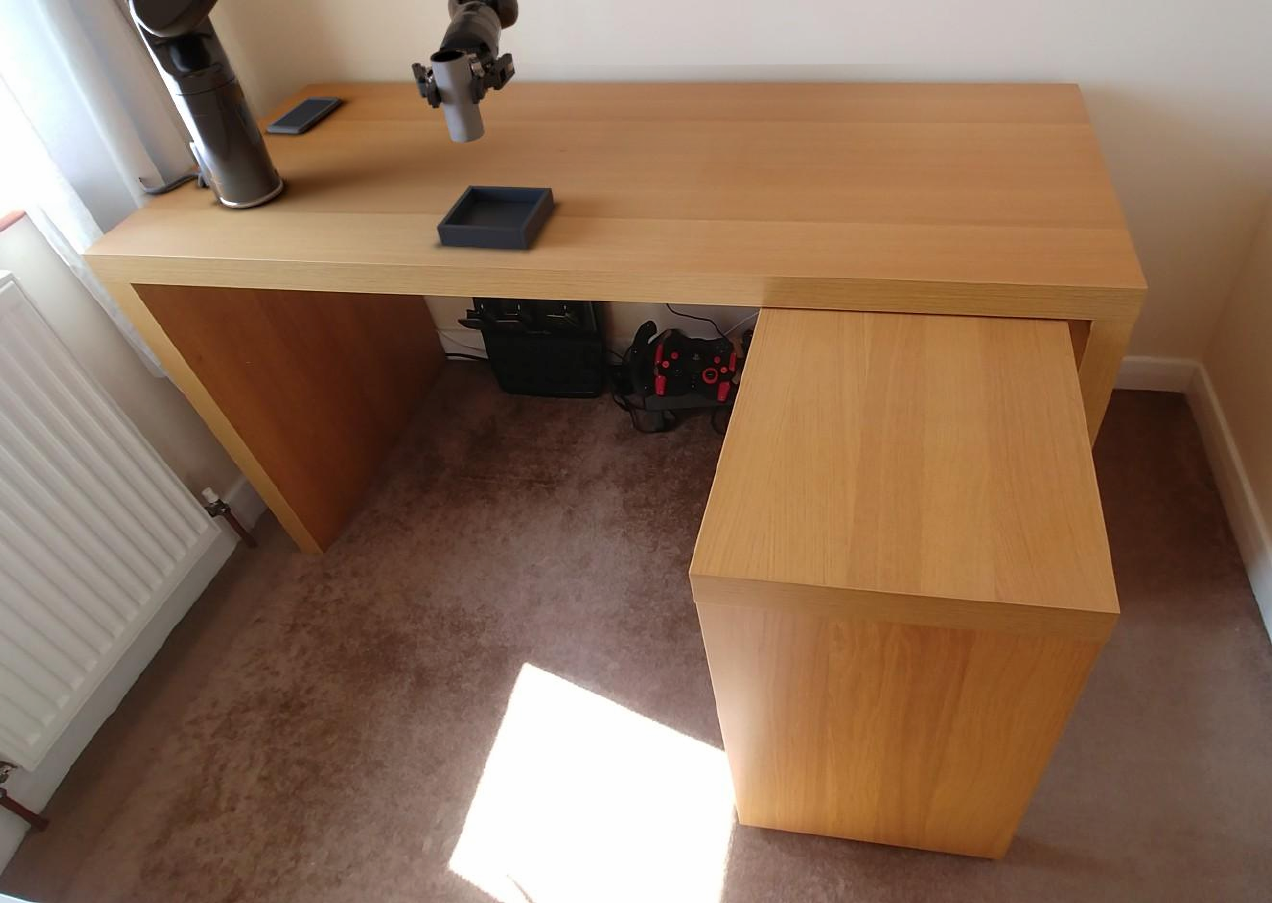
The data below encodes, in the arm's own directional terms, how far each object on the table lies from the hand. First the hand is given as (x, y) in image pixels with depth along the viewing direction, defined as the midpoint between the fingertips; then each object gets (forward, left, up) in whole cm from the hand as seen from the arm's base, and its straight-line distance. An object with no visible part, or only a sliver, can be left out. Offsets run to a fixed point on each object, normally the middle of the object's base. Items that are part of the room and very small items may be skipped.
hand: (454, 98), depth 103 cm
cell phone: (-49, +34, -18) cm, 62 cm away
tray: (+2, 0, -18) cm, 18 cm away
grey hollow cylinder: (-1, +3, -6) cm, 7 cm away
